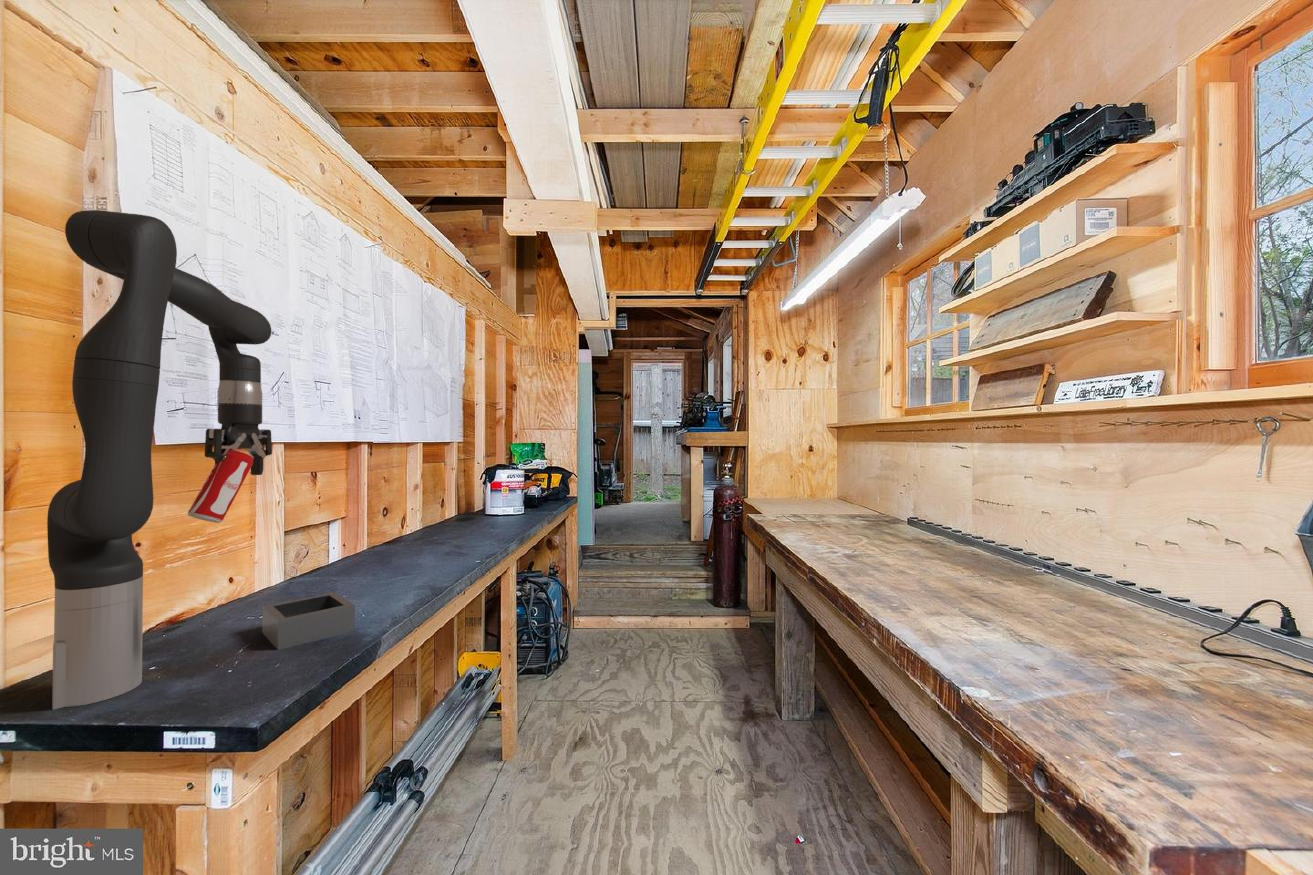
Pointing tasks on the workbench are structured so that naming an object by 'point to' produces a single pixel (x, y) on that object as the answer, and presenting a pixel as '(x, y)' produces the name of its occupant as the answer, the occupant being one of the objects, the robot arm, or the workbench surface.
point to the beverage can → (221, 487)
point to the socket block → (307, 620)
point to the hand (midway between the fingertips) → (240, 476)
